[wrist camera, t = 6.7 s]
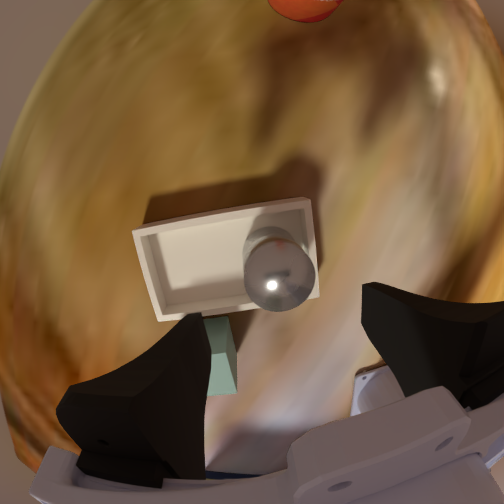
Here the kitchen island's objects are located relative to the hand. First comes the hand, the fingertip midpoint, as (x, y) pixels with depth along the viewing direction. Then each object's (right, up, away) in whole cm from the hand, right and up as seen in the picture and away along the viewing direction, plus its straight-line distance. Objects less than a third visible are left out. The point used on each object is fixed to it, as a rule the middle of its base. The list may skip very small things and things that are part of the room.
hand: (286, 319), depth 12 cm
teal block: (-5, -4, +11) cm, 13 cm away
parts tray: (-3, +3, +9) cm, 10 cm away
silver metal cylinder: (0, +3, +8) cm, 9 cm away
